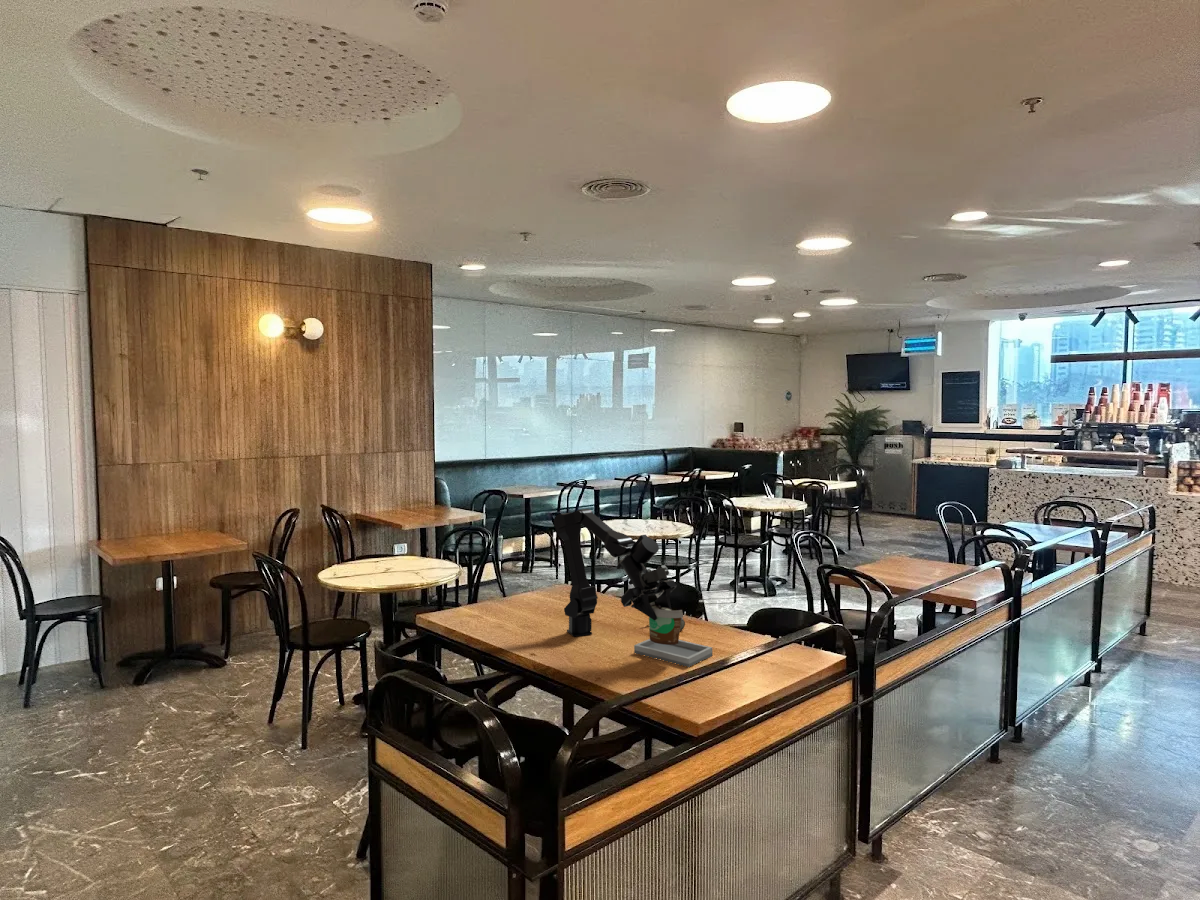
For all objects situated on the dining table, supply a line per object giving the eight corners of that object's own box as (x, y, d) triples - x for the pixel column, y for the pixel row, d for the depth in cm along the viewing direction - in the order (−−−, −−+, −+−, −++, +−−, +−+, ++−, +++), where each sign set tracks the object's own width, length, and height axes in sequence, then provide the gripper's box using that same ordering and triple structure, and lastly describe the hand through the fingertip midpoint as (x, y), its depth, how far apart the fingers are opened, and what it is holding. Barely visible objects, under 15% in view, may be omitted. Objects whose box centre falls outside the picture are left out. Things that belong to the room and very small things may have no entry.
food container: (636, 637, 214) (638, 603, 214) (651, 634, 218) (653, 601, 218) (666, 648, 205) (668, 613, 205) (681, 645, 209) (683, 610, 209)
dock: (688, 667, 206) (688, 658, 206) (634, 653, 218) (634, 645, 218) (712, 655, 216) (712, 647, 216) (658, 642, 228) (659, 634, 228)
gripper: (628, 561, 207) (656, 607, 199) (672, 552, 220) (700, 596, 212) (609, 583, 213) (635, 629, 206) (653, 574, 226) (679, 617, 218)
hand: (663, 617), depth 210 cm, fingers closed on food container, 6 cm apart
